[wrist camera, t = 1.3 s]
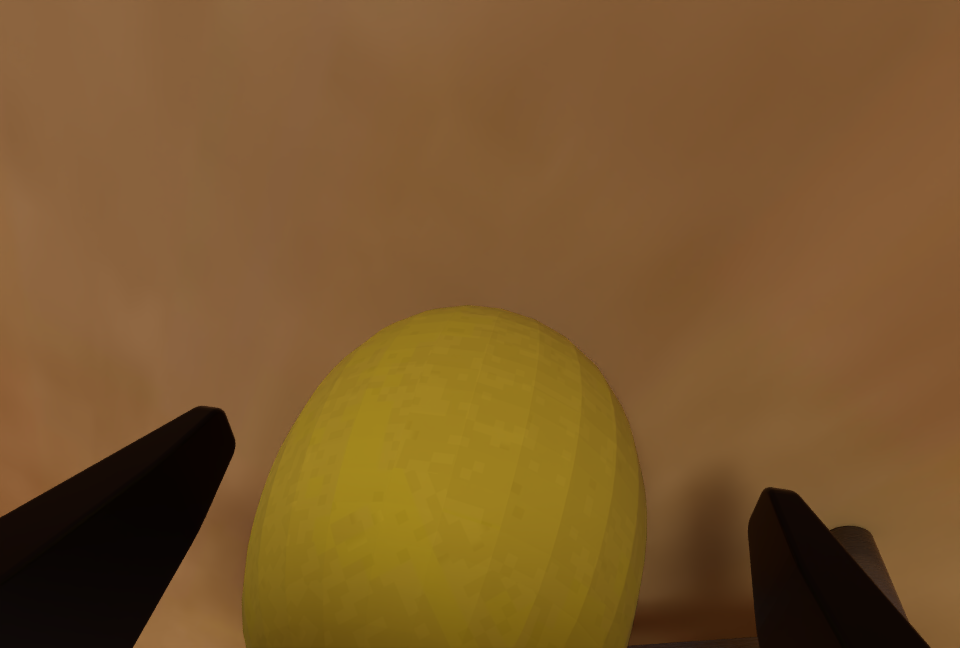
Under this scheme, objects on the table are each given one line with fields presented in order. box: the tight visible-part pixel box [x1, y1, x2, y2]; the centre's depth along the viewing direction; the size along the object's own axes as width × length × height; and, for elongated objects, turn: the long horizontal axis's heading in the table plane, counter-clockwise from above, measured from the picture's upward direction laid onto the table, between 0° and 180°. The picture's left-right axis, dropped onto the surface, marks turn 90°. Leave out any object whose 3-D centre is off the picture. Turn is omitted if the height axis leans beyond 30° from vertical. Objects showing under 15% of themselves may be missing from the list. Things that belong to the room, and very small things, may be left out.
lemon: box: [242, 305, 647, 648], centre depth 9 cm, size 6×6×8 cm
